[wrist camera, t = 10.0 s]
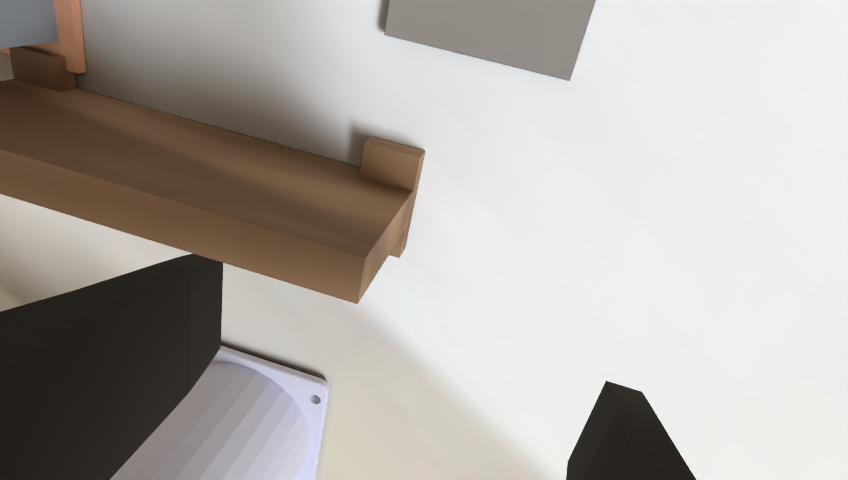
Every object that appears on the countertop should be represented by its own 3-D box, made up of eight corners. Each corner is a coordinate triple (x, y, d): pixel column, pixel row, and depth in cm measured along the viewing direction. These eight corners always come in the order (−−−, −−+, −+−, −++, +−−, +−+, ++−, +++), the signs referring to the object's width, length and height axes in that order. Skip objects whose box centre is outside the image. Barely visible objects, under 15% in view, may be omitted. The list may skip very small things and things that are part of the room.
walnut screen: (404, 248, 21) (351, 338, 16) (41, 141, 23) (-117, 190, 17) (425, 150, 19) (372, 216, 14) (27, 43, 21) (-154, 64, 16)
